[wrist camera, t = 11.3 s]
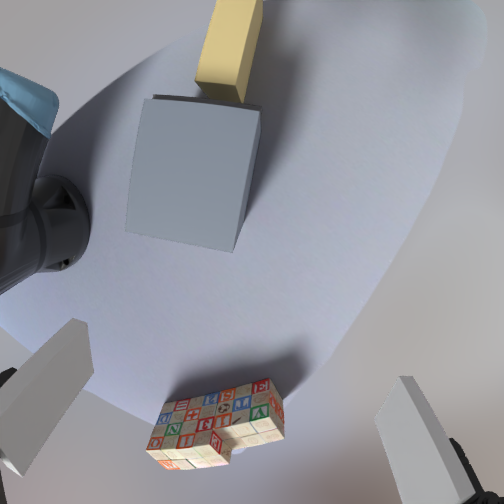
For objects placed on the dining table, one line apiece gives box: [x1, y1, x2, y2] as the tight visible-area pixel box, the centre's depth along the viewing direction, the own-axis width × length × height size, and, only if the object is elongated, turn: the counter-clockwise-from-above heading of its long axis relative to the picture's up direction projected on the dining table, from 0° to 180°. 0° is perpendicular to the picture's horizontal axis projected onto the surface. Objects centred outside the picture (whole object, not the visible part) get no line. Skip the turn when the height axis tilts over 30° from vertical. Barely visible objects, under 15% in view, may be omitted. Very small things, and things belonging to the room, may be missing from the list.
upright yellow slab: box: [195, 0, 263, 103], centre depth 27 cm, size 4×14×10 cm, turn 169°
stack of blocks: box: [146, 378, 284, 470], centre depth 41 cm, size 21×6×12 cm, turn 114°
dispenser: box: [125, 94, 262, 253], centre depth 30 cm, size 10×13×14 cm
